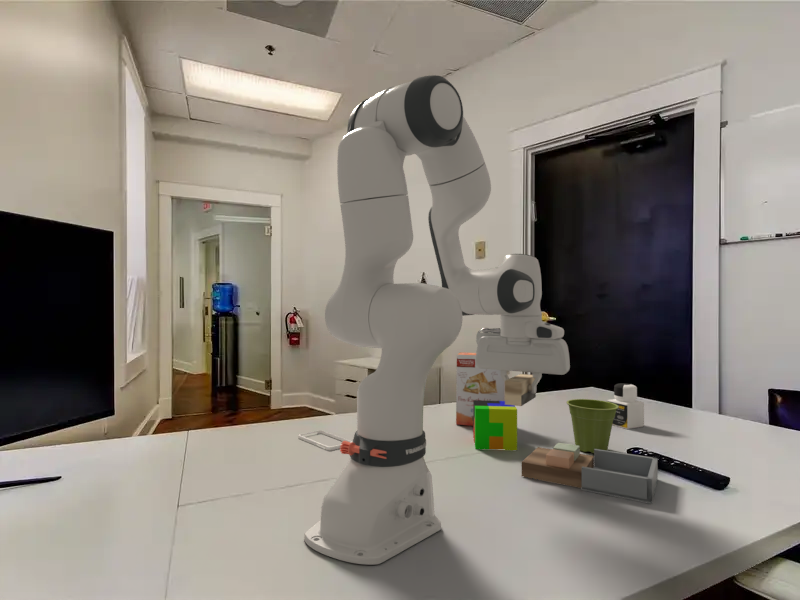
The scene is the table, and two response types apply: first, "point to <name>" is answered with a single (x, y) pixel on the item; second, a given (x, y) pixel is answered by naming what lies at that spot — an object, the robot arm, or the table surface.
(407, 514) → the robot arm
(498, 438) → the puzzle toy
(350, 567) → the table surface
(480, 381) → the cracker box
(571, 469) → the brown wooden block
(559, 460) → the tile terracotta
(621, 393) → the medicine bottle
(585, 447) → the plant pot
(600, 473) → the tray
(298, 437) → the phone case
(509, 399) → the tall wooden pillar
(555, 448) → the tile sage
